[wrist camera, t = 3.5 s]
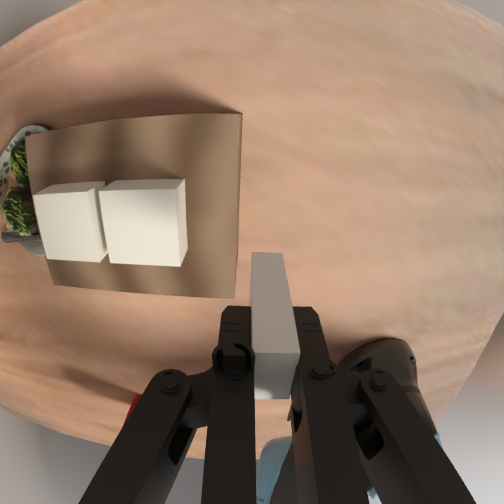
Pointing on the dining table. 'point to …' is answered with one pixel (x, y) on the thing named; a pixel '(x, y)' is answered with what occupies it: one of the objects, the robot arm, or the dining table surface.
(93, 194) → the tile
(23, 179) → the salad plate
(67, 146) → the block
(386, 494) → the robot arm
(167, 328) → the dining table surface
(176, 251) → the tile
